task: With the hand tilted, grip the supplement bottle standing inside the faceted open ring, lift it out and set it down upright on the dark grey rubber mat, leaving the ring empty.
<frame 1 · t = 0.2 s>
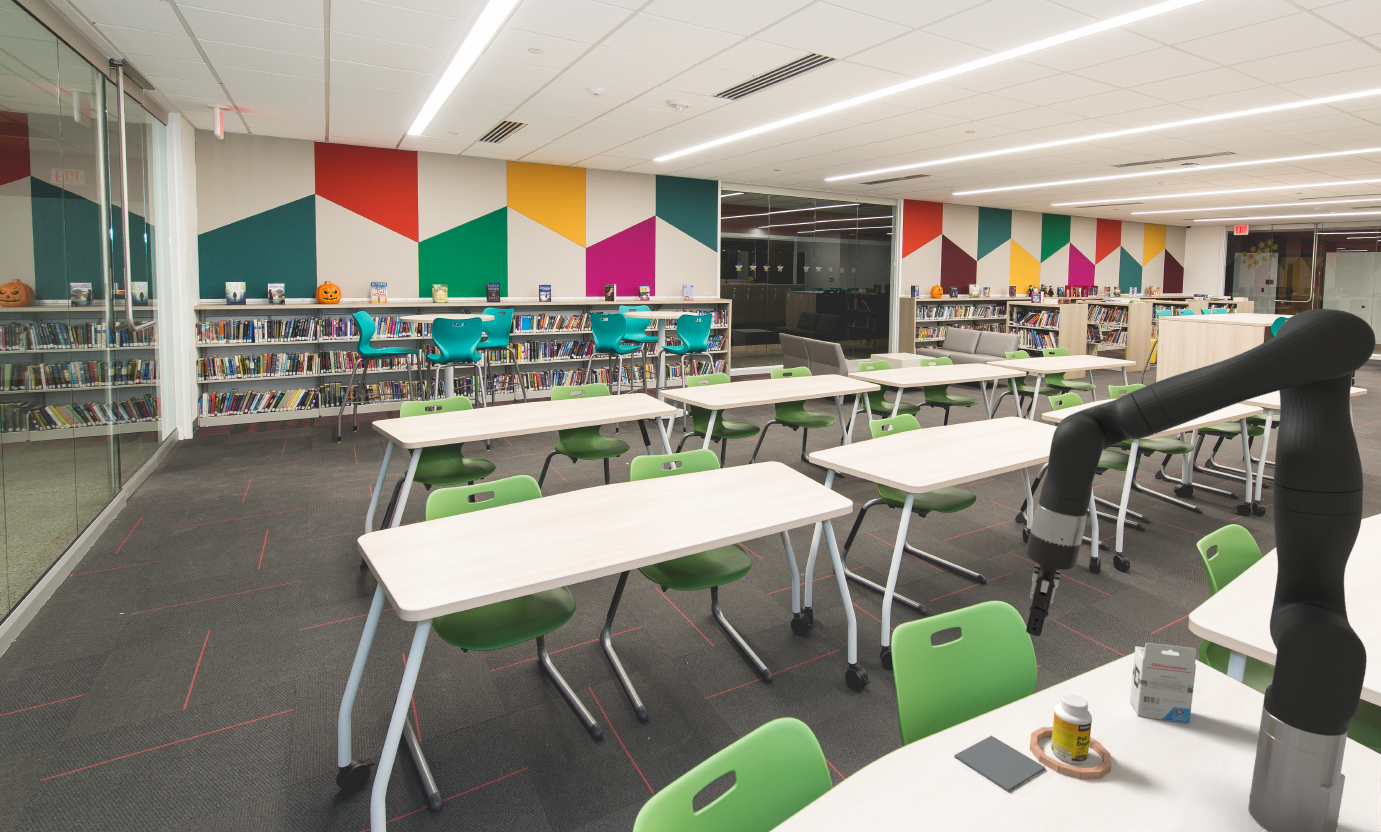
hand: (1034, 623, 117), 23 cm above the table, tool pointing down, fingers open, 8 cm apart
ink box: (1158, 713, 130), on the table
mat: (999, 763, 117), on the table
faceted open ring: (1069, 754, 119), on the table
supplement bottle: (1069, 755, 119), resting in faceted open ring
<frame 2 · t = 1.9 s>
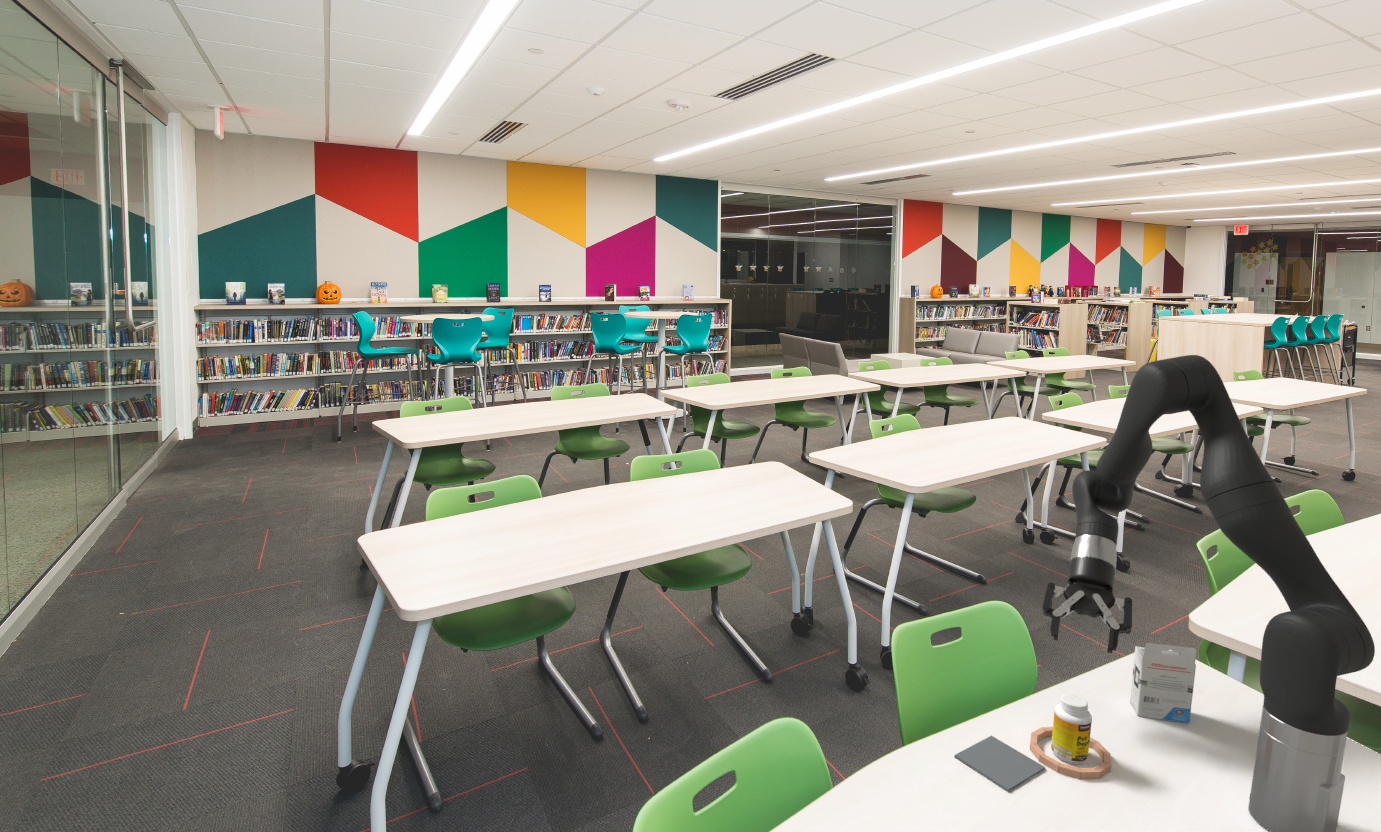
hand: (1082, 645, 125), 15 cm above the table, tool tilted 45°, fingers open, 8 cm apart
nothing on the table moved.
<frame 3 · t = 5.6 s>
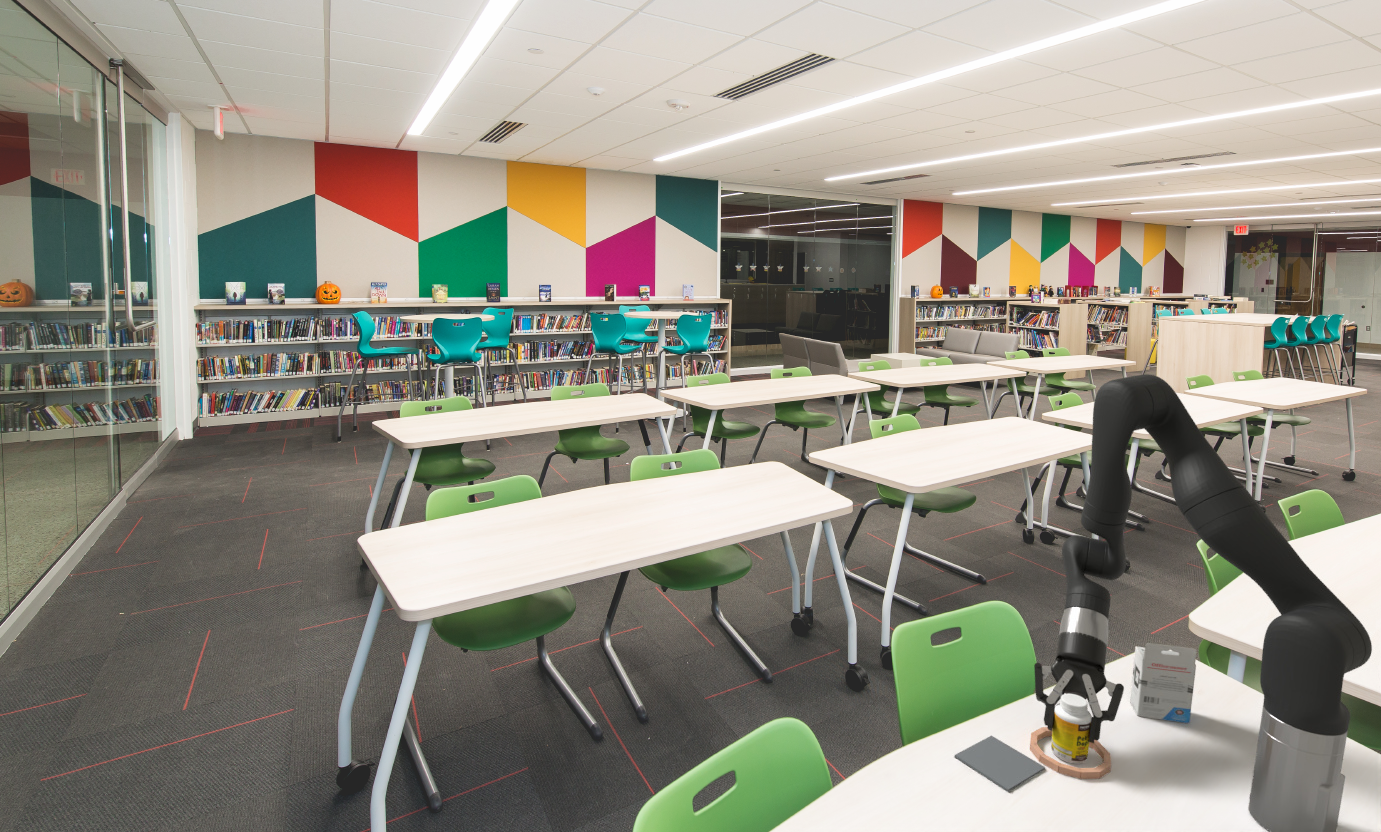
hand: (1070, 734, 116), 5 cm above the table, tool tilted 45°, fingers closed on supplement bottle, 5 cm apart
supplement bottle: (1069, 755, 119), resting in faceted open ring, touching gripper
everything else where it was.
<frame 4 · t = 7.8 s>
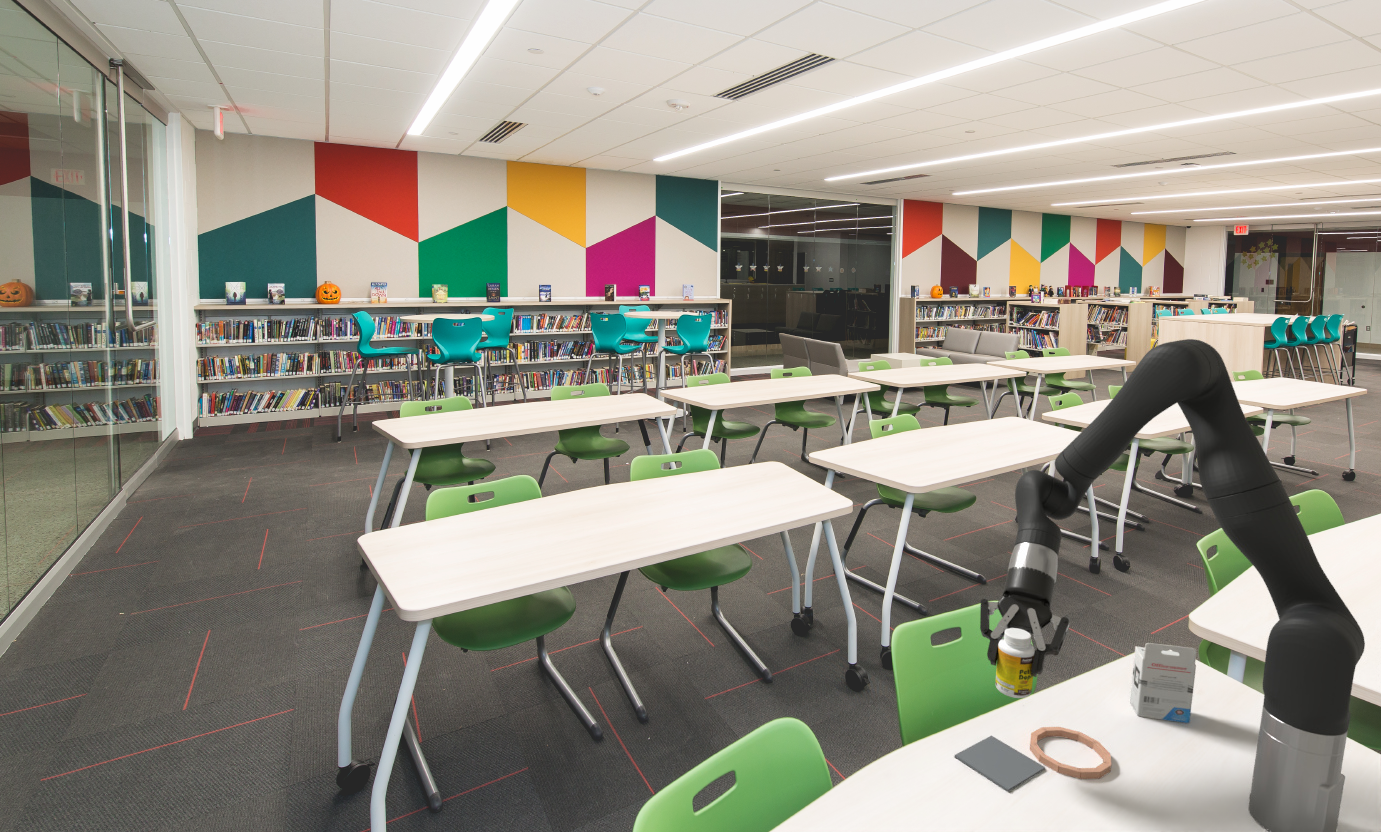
hand: (1013, 668, 113), 17 cm above the table, tool tilted 45°, fingers closed on supplement bottle, 5 cm apart
supplement bottle: (1013, 691, 116), point 12 cm above the table, touching gripper
everything else where it was.
when the fingers open (6 cm above the table, at t = 10.5 s): supplement bottle drops 1 cm, resting on mat.
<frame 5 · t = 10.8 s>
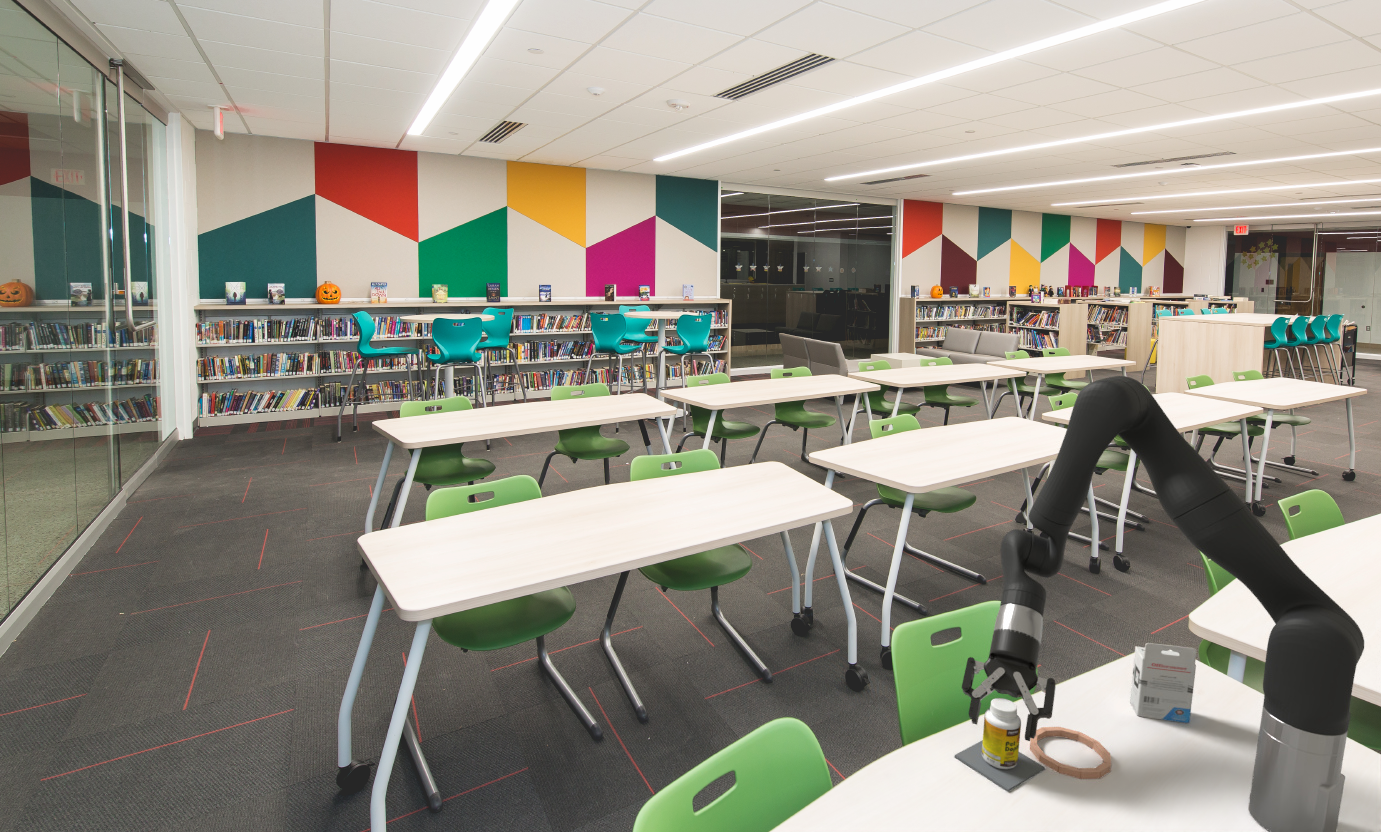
hand: (1000, 730, 114), 7 cm above the table, tool tilted 45°, fingers open, 7 cm apart
supplement bottle: (999, 761, 117), resting on mat
everything else where it was.
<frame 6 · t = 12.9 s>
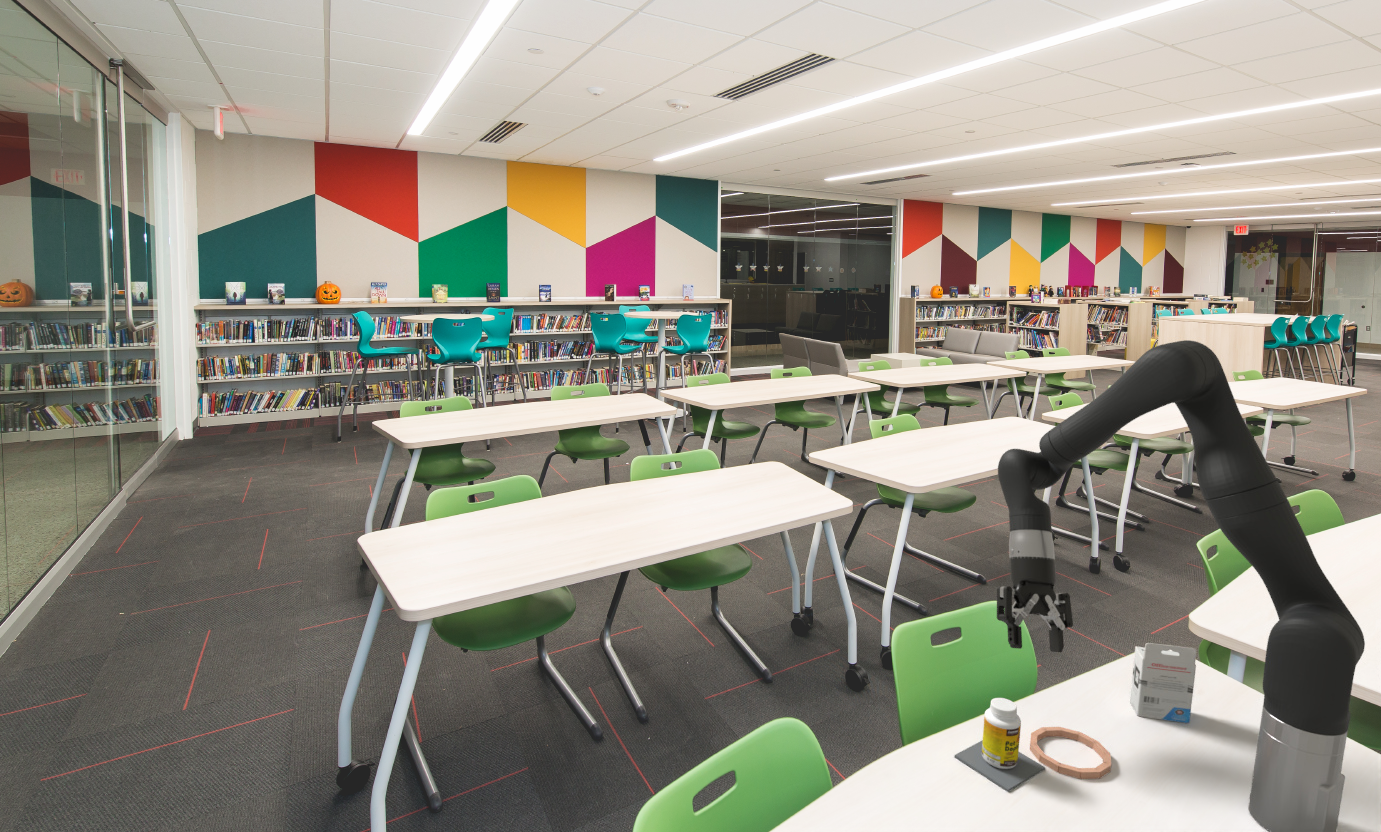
hand: (1036, 650, 123), 15 cm above the table, tool tilted 25°, fingers open, 8 cm apart
nothing on the table moved.
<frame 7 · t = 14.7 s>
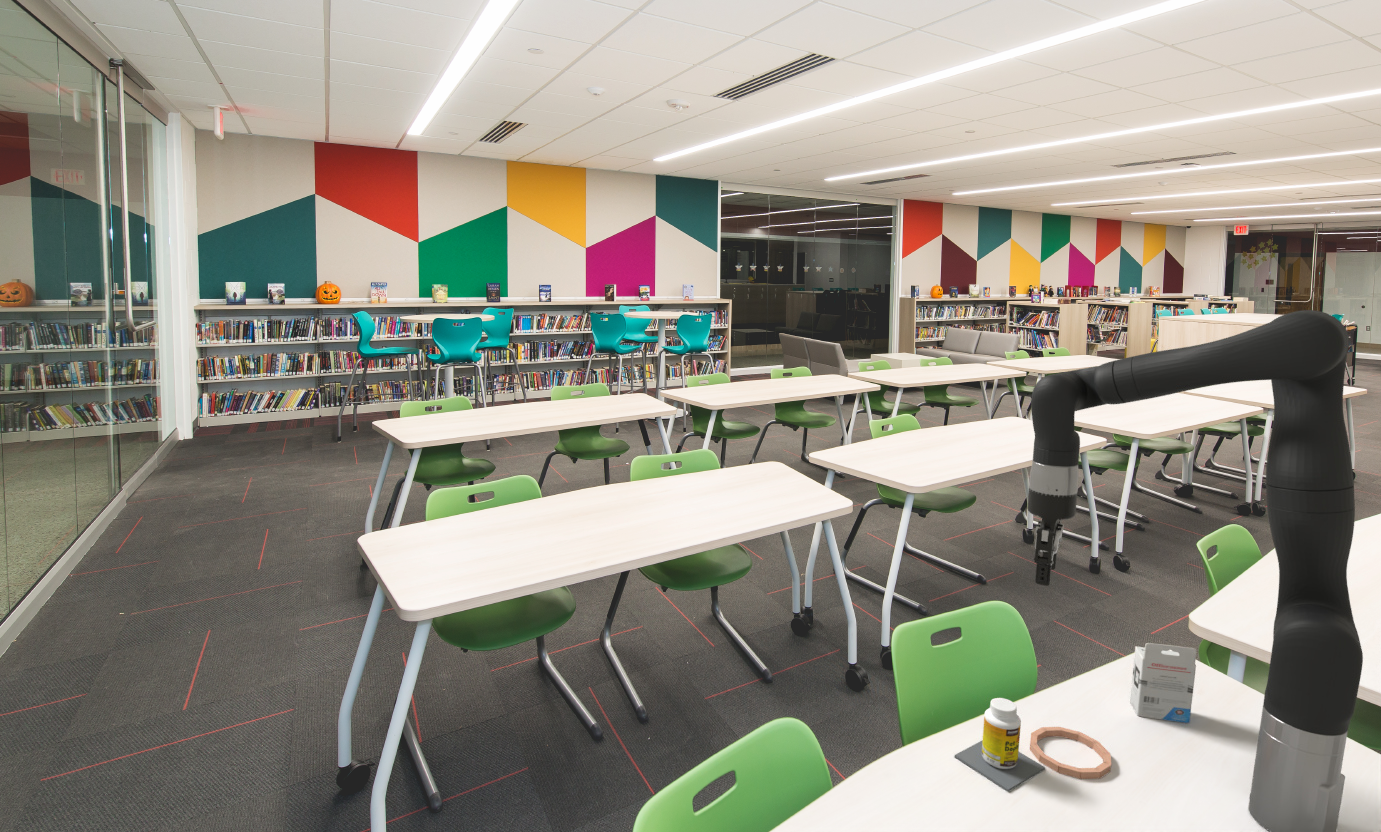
hand: (1045, 576, 123), 28 cm above the table, tool pointing down, fingers open, 8 cm apart
nothing on the table moved.
at the end: supplement bottle inside the target area on the mat (0.2 cm from its centre), point 0.2 cm above the mat's base; supplement bottle tilted 0°; the gripper is holding nothing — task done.
